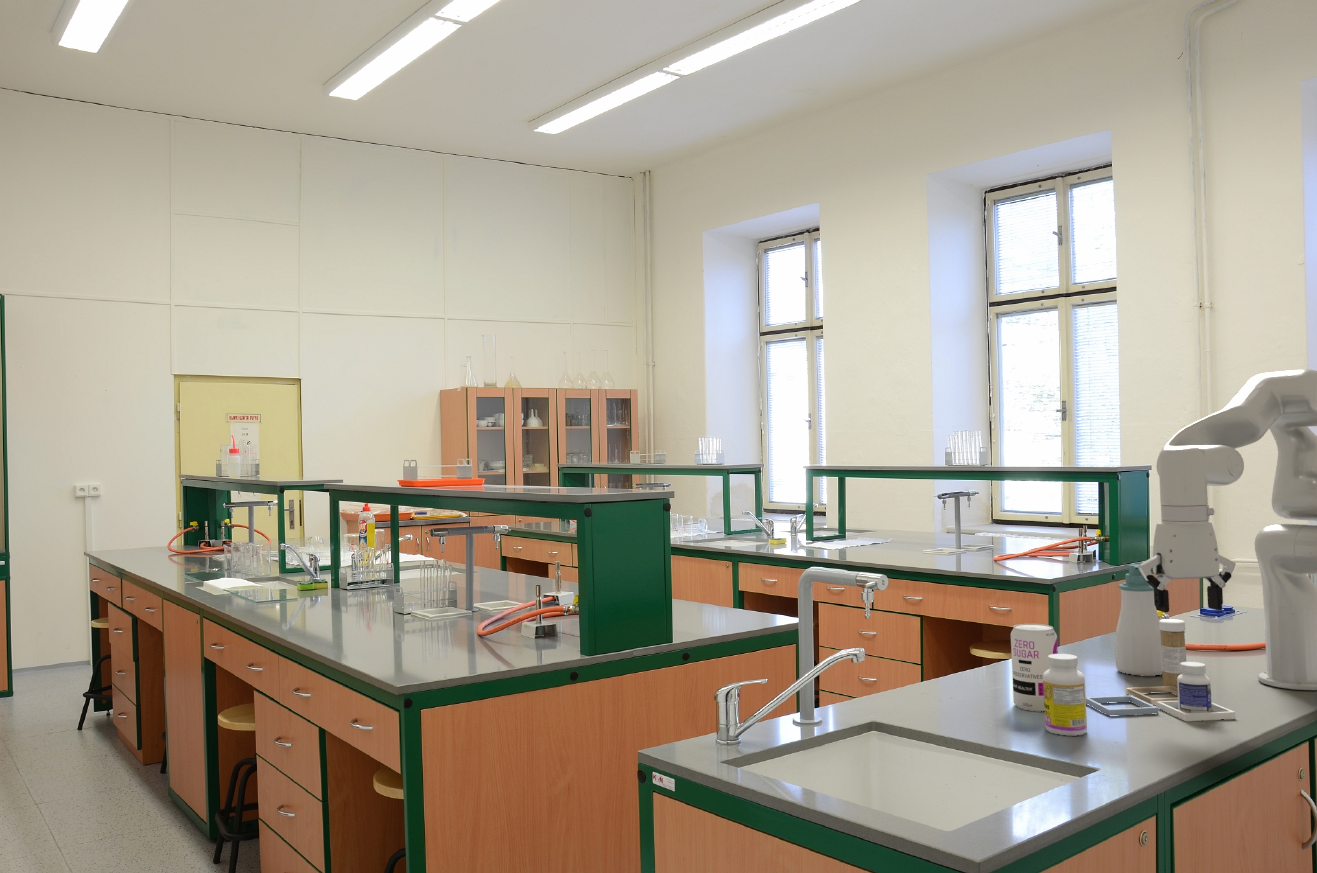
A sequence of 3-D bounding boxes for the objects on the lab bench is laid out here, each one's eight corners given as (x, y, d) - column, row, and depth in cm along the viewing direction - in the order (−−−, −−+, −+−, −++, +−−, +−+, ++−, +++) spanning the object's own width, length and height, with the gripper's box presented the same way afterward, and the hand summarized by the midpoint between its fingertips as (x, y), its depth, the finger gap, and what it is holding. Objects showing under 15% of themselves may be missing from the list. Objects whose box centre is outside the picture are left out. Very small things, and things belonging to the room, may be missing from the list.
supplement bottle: (1048, 724, 169) (1045, 651, 169) (1089, 728, 165) (1086, 653, 166) (1042, 734, 163) (1038, 658, 163) (1084, 739, 159) (1081, 661, 160)
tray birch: (1171, 692, 187) (1171, 686, 187) (1199, 703, 178) (1199, 697, 178) (1126, 694, 187) (1126, 688, 187) (1152, 706, 178) (1151, 699, 178)
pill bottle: (1216, 717, 169) (1214, 667, 169) (1184, 717, 170) (1181, 667, 170) (1205, 710, 174) (1203, 661, 174) (1174, 709, 175) (1172, 660, 176)
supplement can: (1058, 702, 183) (1055, 623, 183) (1061, 714, 175) (1058, 631, 175) (1013, 700, 185) (1009, 622, 186) (1014, 711, 178) (1010, 630, 178)
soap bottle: (1117, 676, 202) (1112, 567, 202) (1114, 666, 211) (1109, 562, 211) (1170, 678, 198) (1164, 568, 199) (1164, 668, 207) (1159, 562, 208)
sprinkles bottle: (1173, 684, 193) (1170, 617, 194) (1193, 689, 189) (1190, 620, 189) (1156, 687, 192) (1153, 619, 192) (1176, 691, 188) (1172, 623, 188)
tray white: (1204, 705, 177) (1203, 699, 177) (1235, 719, 168) (1235, 712, 168) (1156, 708, 176) (1156, 701, 177) (1185, 721, 168) (1185, 714, 168)
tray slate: (1131, 701, 181) (1131, 695, 181) (1158, 714, 172) (1158, 707, 172) (1085, 704, 181) (1084, 697, 181) (1109, 716, 172) (1109, 710, 172)
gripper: (1218, 512, 177) (1222, 605, 177) (1126, 515, 177) (1130, 609, 176) (1244, 514, 170) (1249, 611, 169) (1148, 518, 169) (1153, 615, 169)
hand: (1188, 610), depth 173 cm, fingers open, 9 cm apart
